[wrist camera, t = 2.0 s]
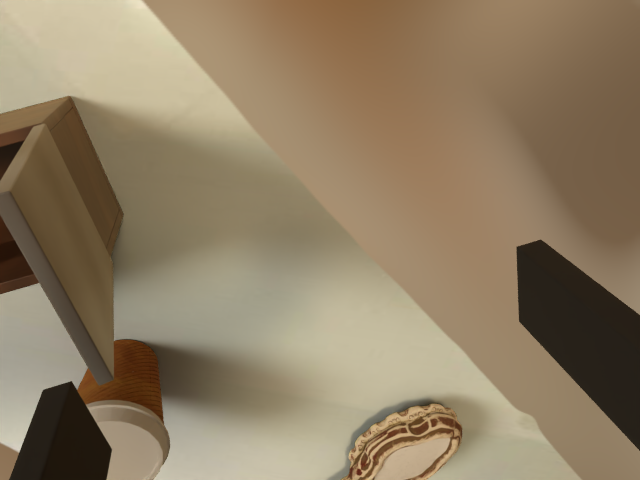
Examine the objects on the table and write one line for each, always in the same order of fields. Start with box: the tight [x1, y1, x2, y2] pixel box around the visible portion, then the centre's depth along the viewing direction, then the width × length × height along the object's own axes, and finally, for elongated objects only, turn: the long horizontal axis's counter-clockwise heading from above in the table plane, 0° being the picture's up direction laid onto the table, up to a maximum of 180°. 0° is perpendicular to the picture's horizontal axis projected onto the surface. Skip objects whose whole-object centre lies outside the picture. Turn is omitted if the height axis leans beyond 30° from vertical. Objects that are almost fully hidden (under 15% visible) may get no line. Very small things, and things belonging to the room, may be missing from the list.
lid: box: [0, 124, 114, 386], centre depth 29 cm, size 14×11×1 cm
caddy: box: [0, 96, 124, 294], centre depth 39 cm, size 13×11×9 cm
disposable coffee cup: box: [77, 340, 170, 480], centre depth 47 cm, size 10×10×12 cm
